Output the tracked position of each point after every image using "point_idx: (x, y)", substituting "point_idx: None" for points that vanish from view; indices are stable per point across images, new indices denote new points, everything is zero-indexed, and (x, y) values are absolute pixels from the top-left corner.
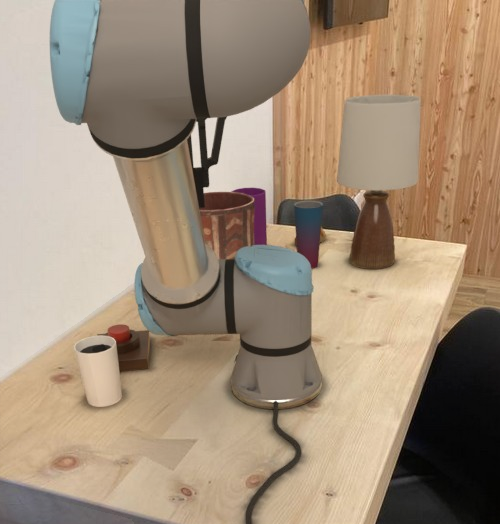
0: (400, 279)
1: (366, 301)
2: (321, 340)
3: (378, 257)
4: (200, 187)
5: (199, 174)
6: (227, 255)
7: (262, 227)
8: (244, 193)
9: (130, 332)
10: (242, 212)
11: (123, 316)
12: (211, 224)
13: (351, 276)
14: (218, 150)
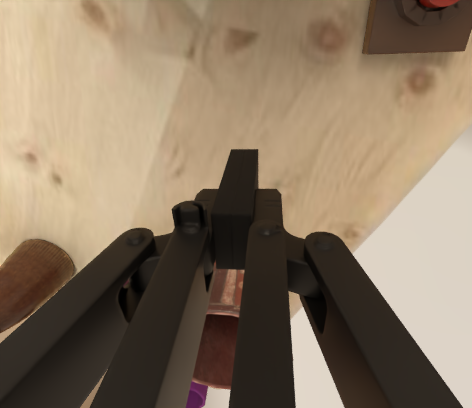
0: (2, 204)
1: (35, 143)
2: (81, 5)
3: (25, 249)
4: (233, 178)
5: (226, 203)
6: None
7: None
8: (187, 402)
9: (415, 3)
10: None
11: (391, 155)
12: (235, 292)
13: (66, 225)
14: (85, 276)
